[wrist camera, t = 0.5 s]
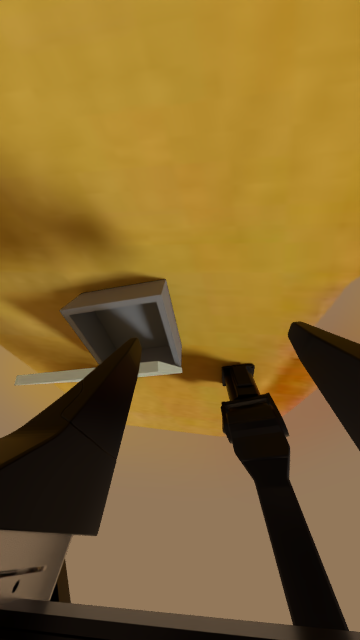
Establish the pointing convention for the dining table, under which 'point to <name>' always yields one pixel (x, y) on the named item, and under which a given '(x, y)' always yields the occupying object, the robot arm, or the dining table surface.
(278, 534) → the robot arm
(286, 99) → the dining table surface
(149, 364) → the lid
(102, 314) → the box
